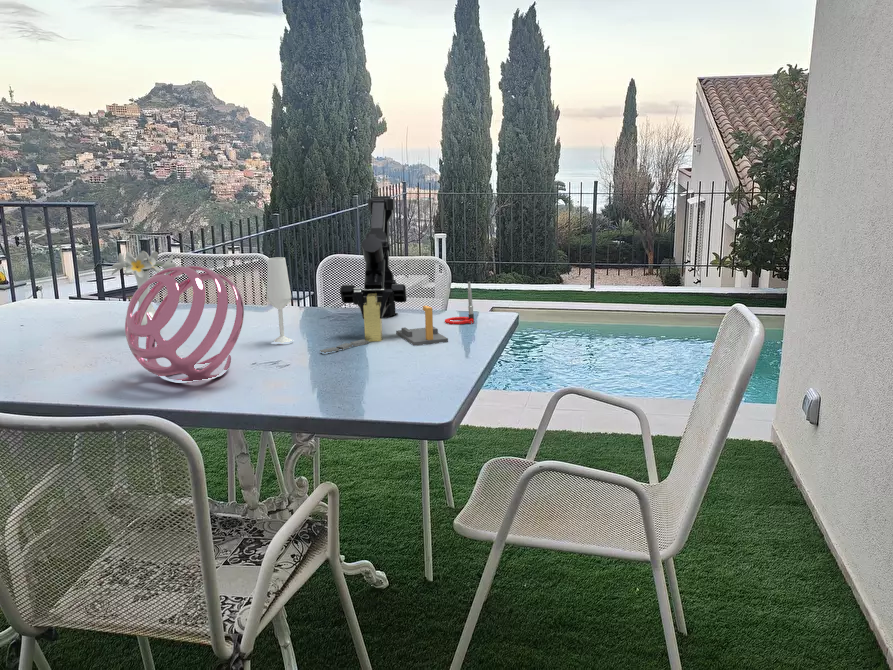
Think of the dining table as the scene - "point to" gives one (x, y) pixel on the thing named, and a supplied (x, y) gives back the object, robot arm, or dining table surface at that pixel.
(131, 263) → the flower vase
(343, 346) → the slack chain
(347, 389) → the dining table surface
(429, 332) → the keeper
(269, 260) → the champagne flute
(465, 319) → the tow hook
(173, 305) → the pink lattice ball
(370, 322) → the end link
